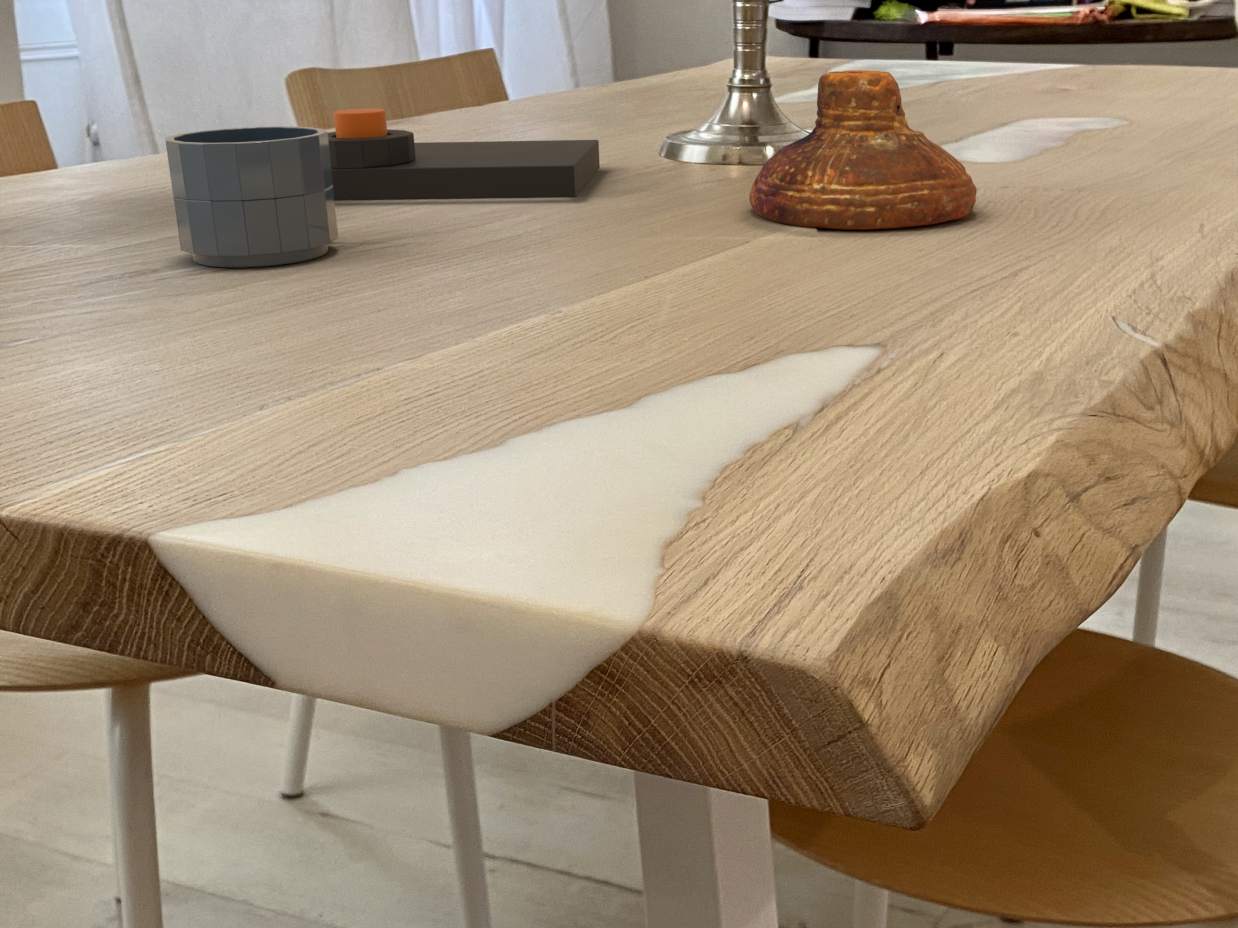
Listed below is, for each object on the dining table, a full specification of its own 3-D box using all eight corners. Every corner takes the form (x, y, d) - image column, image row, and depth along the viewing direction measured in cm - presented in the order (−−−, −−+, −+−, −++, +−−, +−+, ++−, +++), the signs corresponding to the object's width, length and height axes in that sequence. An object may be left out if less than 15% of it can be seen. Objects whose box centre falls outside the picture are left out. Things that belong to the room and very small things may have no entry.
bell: (795, 192, 84) (796, 61, 81) (1001, 202, 79) (1009, 62, 76) (711, 225, 74) (709, 77, 71) (940, 238, 69) (946, 79, 66)
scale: (303, 202, 85) (296, 141, 83) (362, 172, 97) (356, 118, 95) (575, 198, 83) (572, 136, 82) (599, 169, 96) (597, 114, 94)
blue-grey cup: (158, 270, 66) (139, 145, 64) (214, 242, 72) (199, 127, 71) (313, 269, 65) (299, 142, 63) (355, 240, 72) (344, 125, 70)
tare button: (330, 144, 85) (327, 113, 84) (344, 138, 88) (341, 108, 87) (380, 143, 85) (378, 112, 84) (393, 137, 87) (390, 107, 87)
